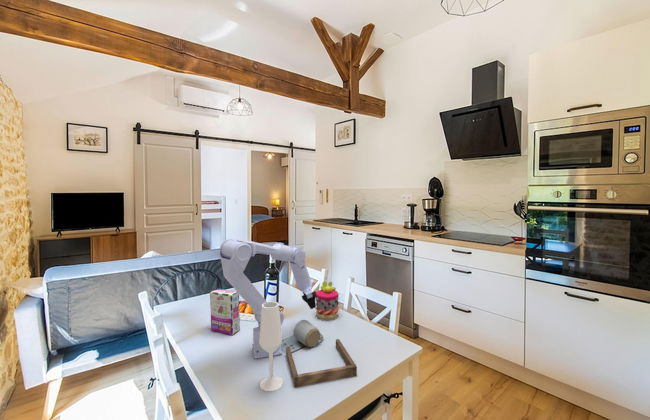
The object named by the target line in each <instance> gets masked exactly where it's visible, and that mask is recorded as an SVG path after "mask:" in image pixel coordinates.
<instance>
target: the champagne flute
mask: <svg viewBox="0 0 650 420" xmlns="http://www.w3.org/2000/svg"><path fill="white" fill-rule="evenodd" d="M279 305H280V304H279V302H277V301H267V302H266V303H264V304H262V314H261V326H260V339H259V344H260V346H261V347H262V349H263V350H265V351H266V352H268V353H269V357H268V364H269V365H268V368H269V369H268V370H269V371H268V373H269V376H268V377H265V378H263V379H262V380H261V381H260V382H259V387H260V389H261V390H263V391H265V392H273V391H274V392H275V391H276V390H278V389H280V388H281V387H282V386H283V383H284V382H283V379H282V378H281V377H279V376H277V375H276V376H275V375H274V356H273V352H275V351H276V350H277V349H278V348H279V347H281V345H282V344H283V333H282V325H281V322H280V313H279V311H280V306H279Z"/></svg>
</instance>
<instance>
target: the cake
mask: <svg viewBox="0 0 650 420" xmlns="http://www.w3.org/2000/svg"><path fill="white" fill-rule="evenodd" d="M336 289H337V288H336V287H335V286H334V287H333V282H332V281H329V282H328V283H327V281H323V282H322V284H321V286H320V289H319V290H317V291H315V292H316V298H315V303H316V307H315V310H316V315H315V316H316V318H317V319H318V320H321V321H333V320H334V321H335V320H336V319H338V317H339V313H338V312H339V310H340V306H339V292H338V291H337V290H336Z"/></svg>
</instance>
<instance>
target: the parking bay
mask: <svg viewBox="0 0 650 420" xmlns="http://www.w3.org/2000/svg"><path fill="white" fill-rule="evenodd" d="M335 348H336V351H337V352H338V354H339V356H340V357H341V359H342V361H343V362H344V364H345V365H344V366H339V367H333V368H327V369H323V370H322V369H320V370H316V371H315V370H314V371H310V372H305V373H304V372H303V373H299V374H298V370H297V367H296V363H295V360H294V358H293V354H292V353H293V352H292V351H291V348H290V346H285V355H286V356H285V357H286V360H287V364H288V368H289V372H290V375H291V381H292V383H293V387H294V388H300V387H305V386H309V385H316V384H320V383H321V384H322V383H327V382H331V381H337V380H341V379H347V378H352V377H353V378H354V377H357V375H358V373H357V372H358V370H357V369H358V366H357V365H356V363H355V361H354V360H353V358H352V357H351V355H350V354H349V352H348V351H347V349H346V348H345V346H344V345H343V343H342V342H341V340H340V339H339V338H337V339H335Z"/></svg>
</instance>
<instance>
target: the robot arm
mask: <svg viewBox="0 0 650 420" xmlns="http://www.w3.org/2000/svg"><path fill="white" fill-rule="evenodd" d="M255 254H262V255H267V256H268V255H269V256H270V257H271V258H272V259H273V260H276V261H282V262H286V263H287V262H288V263H289V266H290V269H291V272H292V275H293V277H294V280H295V283H296V287H297V290H299V291H300V292H301V293H302V294H303V295H301V299H302V301H304V302H305V303H306V304H307V306H308V307H309V309H310V310H312V309H314V308H316V307H317V306H316V292H317V291H313V292H312V290H313V289H312V288H313V284H314V283H315V280H314V279H311V277H310V273H309V271H308V268H307V264H306V252H305V251H304V250H303V249H302V248H298V247H296V246H295V247H294V245H285V243H283V242H278V243H275V244H273V245H269V244H265V243H260V242H256V241H252V240H242V239H236V240H234V239H226V240H224V241H223V242H222V243H221V245H220V247H219V251H218V254H217V255H218V258H219V259H220V261H221V267H222V268H221V269H222V274H223V277H224V278H225V279H226V281H227V283H229V284H230V285H231V287H233V289H234V291H237V292H238V293H239V296H240V297H242V299H243V300H244V302H246V304H247V305H248V306H249V307H250V308H251V309H252V310H251V312H252V313H253V315H254V319H255V321H256V322H257V325H258V326H256V327H253V329H252V336H253V337H252V339H253V343H252V345H251V346H252V350H253V359H260V358H267V357H268V358H269V353H268V352H266V351H265V350H263V349H262V347H261V346H260V344H259V339H260V326H261V314H262V304H264V303H266V302H268V301H267V300H266V299H265V298H264V296H263V295H262V294H261V293H260V292H259V290H258V288H256V286H254V284H253V283H252V281H250V279H249V278H248V277H247V276H246V275H245V272H244V271H245V270H246V268H247V265H248V263H249V261H250V259H251V257H255ZM279 313H280V322H281V326H282V325H283V323H284V319H285V316H284V314H283V312H282V311H280V310H279ZM282 353H283V351H282V347H281V346H280V347H279V348H278V349H277V350H276V351H275V352H273V357H274V356H282V355H283V354H282Z"/></svg>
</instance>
